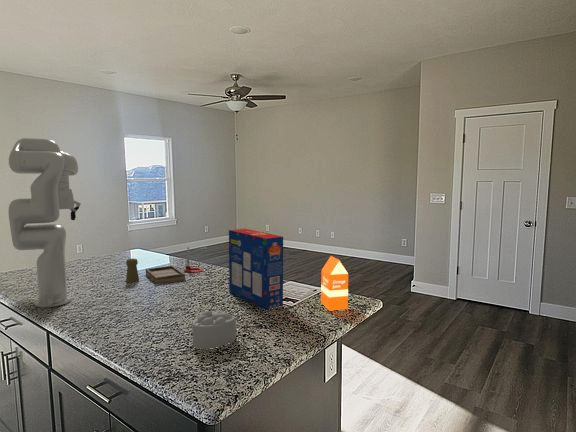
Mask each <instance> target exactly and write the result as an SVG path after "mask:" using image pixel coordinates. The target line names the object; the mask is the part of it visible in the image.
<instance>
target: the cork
mask: <svg viewBox="0 0 576 432" xmlns="http://www.w3.org/2000/svg"><path fill="white" fill-rule="evenodd" d="M138 262H139V261H138V259H136V258H128V259H127V260H126V261H125V264H126V267H127V268H126V275H125V276H126V277H125V282H126V283H127V284H133V283H138V282H139V281H140V276H139V272H138V266H137V265H138Z"/></svg>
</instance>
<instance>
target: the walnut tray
mask: <svg viewBox="0 0 576 432" xmlns="http://www.w3.org/2000/svg"><path fill="white" fill-rule="evenodd" d="M145 276H146V277H148V278H149V280H150V281H152V282H153V283H154V284H155V285H161V284H167V283H168V284H169V283H174V282H181V281H186V272H184V271H182V270H180V269H179V268H177V267H176V266H174V265H168V266H167V265H166V266H159V267H152V268H146V269H145Z"/></svg>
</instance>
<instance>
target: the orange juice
mask: <svg viewBox="0 0 576 432" xmlns="http://www.w3.org/2000/svg"><path fill="white" fill-rule="evenodd" d="M320 288H321V289H320V290H321V291H320V292H321V293H320V295H321V296H320V298H321V299H320V305H321V304H323V305H324V306H325V307H326V308H327V309H328V310H329V311H333V310H341V309H347V310H349V309H348V302H349V301H348V300H349V273H348V271H347V270H346V268H345V266H344V265H343V264H342V262H341V260H340V259H339V258H336V257H334V256H332V255H330V257H329V258H328V260H327V261H326V263H325V264H324V266H323V267H322V269H321V286H320Z"/></svg>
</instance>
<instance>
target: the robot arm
mask: <svg viewBox="0 0 576 432" xmlns="http://www.w3.org/2000/svg"><path fill="white" fill-rule="evenodd" d="M8 165H9V168H10V170H11V171H12V172H14V173H16V174H26V175H27V174H29V175H31V174H34V175H35V174H38V175H39V174H40V175H39V176H37V177H36V178H35V179H34V181H33V182H32V183H31V185H30V186H29V189H30V195H31V197H30V198H15V199H13V200H12V201H10V203H9V206H8V213H7V214H8V220H9V221H8V222H9V227H10V236H11V242H12V246H13V247H14V249H16V250H18V251H35V250H43V252H42V253H41V254H39V256H38V257H37V259H36V275H37V276H36V277H37V288H38V289H37V291H38V292H37V293H38V299H36V300H35V301H34V307H36V308H43V309H45V308H46V309H47V308H54V307H60V306H64V305H67V304H68V303H70V302H71V301H72V298H73V297H72V296H71V295H68V292H67V291H68V290H67V271H66V255H65V254H66V250H65V249H66V242H67V241H66V239H67V231H66V228H65V227H64V226H62V225H60V224H55V222H56V221H58V220H59V218H60V210H69V211H71V212H70V220H71V221H76V217H77V216H76V212H77V211H78V209H80V206H81V205H82V204H81V202H78V201H76V200H74V193H73V190H72V188H70V177H72V176H76V175H77V174H78V172H79V164H78V161H77V159H76V157H75V156H74V155H71V154H70V153H67V152H64V151H62V150H61V149H60V147H59V144H58V143H56V142H55V141H54V140H52V139H47V138H29V137H25V138H20V139H18V140H17V141H16V142H15V143H14V145H13V147H12V149H11V151H10V153H9V156H8ZM49 223H51V224H49ZM52 223H54V224H52ZM31 224H32V225H31Z"/></svg>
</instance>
